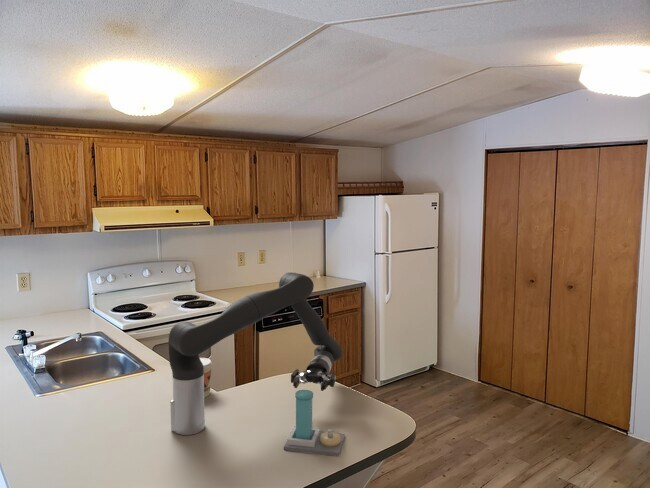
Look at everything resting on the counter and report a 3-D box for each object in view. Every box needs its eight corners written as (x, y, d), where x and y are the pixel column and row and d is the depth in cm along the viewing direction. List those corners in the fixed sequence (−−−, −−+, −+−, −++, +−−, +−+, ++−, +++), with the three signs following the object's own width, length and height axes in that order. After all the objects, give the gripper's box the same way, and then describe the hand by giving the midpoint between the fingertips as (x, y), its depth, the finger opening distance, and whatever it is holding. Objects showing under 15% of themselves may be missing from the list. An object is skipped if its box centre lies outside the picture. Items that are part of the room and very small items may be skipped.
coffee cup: (193, 402, 173) (192, 368, 171) (181, 393, 180) (180, 361, 178) (217, 394, 179) (216, 362, 177) (204, 386, 186) (204, 355, 184)
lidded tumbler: (293, 442, 145) (293, 396, 143) (297, 433, 150) (297, 389, 148) (310, 444, 144) (311, 397, 142) (314, 435, 149) (314, 390, 147)
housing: (283, 449, 142) (284, 435, 142) (293, 431, 153) (293, 417, 153) (339, 456, 140) (339, 441, 139) (345, 436, 150) (345, 422, 150)
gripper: (299, 356, 173) (286, 372, 157) (339, 359, 170) (331, 377, 154) (298, 377, 174) (286, 395, 158) (339, 381, 171) (330, 400, 155)
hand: (308, 386), depth 156 cm, fingers open, 8 cm apart
